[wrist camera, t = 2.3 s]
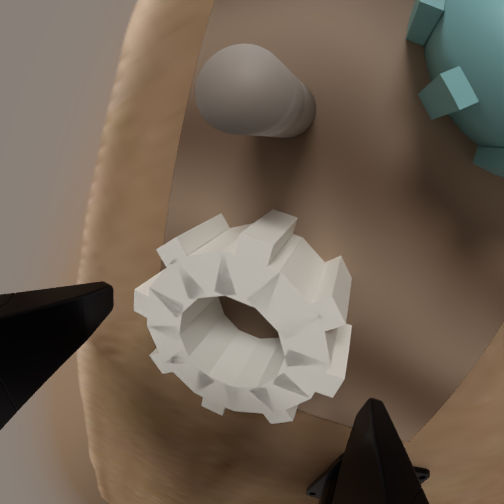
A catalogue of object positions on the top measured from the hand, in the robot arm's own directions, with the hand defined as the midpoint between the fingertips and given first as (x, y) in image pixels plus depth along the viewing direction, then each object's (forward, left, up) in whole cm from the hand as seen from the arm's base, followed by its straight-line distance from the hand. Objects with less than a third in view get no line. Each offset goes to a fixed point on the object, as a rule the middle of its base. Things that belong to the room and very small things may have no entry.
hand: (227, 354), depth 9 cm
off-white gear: (0, 0, -3) cm, 3 cm away
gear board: (+5, -2, -4) cm, 7 cm away
